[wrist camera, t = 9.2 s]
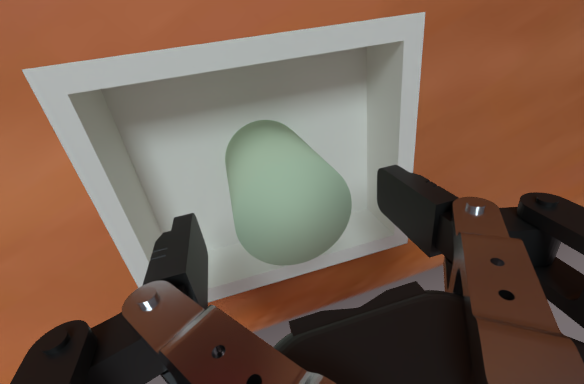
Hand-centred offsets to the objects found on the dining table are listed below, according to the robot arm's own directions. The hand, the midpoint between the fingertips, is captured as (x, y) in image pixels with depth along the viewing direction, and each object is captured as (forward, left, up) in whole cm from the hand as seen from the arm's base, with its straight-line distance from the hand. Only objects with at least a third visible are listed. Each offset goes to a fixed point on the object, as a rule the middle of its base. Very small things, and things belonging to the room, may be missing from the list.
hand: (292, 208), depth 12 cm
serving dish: (0, 0, -7) cm, 7 cm away
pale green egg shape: (0, 0, -6) cm, 6 cm away
